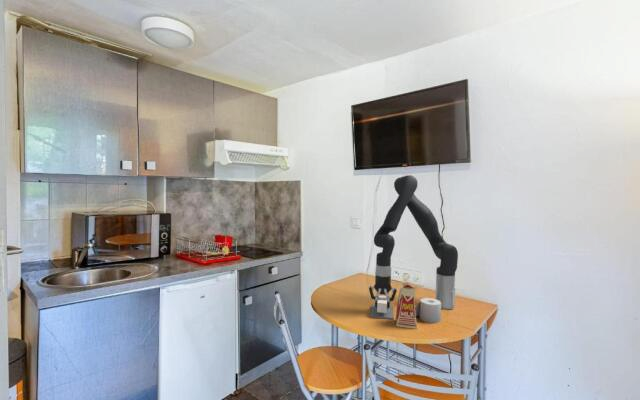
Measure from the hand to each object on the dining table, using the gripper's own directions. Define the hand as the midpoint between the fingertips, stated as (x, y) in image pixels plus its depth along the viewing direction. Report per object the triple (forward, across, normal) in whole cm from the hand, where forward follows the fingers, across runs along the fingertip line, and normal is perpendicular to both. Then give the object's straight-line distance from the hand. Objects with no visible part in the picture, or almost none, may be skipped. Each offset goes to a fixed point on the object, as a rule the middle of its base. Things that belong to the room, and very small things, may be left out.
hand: (382, 308), depth 160 cm
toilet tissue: (+3, -21, +2) cm, 21 cm away
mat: (+2, 0, 0) cm, 2 cm away
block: (-3, 0, +7) cm, 7 cm away
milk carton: (+3, -11, +10) cm, 15 cm away
